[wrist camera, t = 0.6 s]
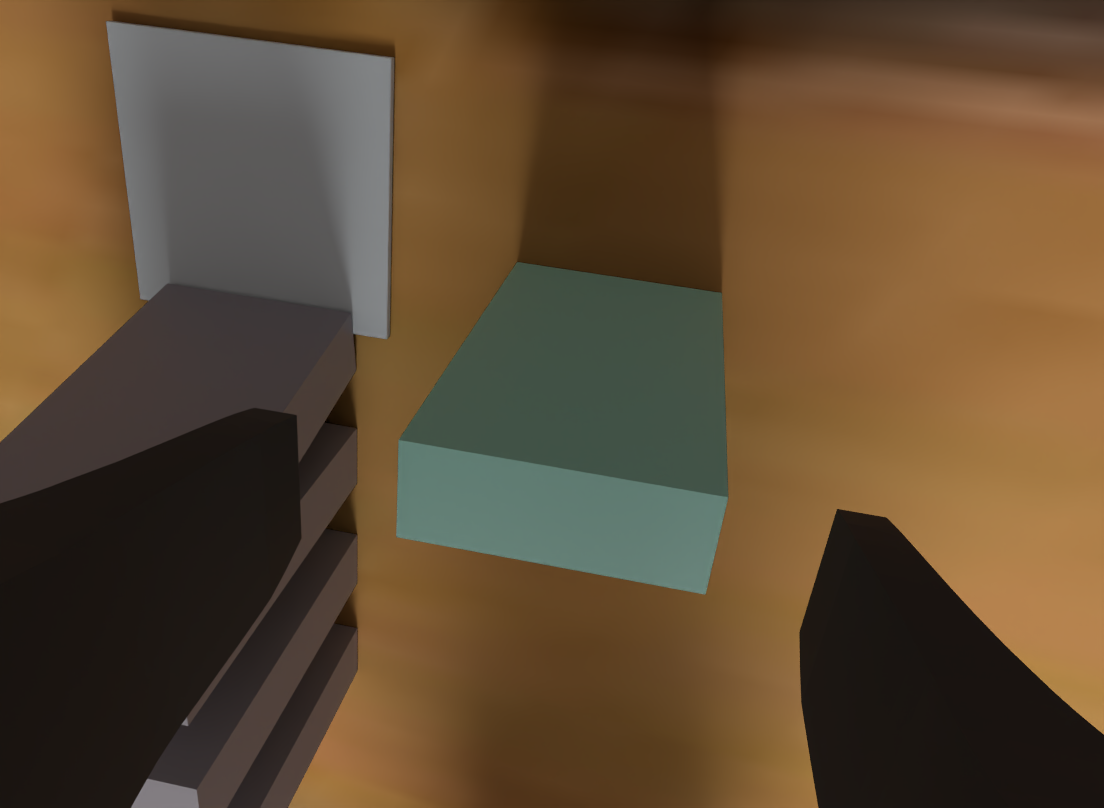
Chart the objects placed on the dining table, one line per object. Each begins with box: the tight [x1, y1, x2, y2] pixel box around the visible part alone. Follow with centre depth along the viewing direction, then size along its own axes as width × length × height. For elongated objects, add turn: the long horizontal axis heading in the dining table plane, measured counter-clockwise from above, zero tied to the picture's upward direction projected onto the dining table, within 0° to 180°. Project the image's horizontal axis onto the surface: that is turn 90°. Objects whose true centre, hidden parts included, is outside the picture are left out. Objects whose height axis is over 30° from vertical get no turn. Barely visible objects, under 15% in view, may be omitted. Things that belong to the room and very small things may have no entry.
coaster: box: [106, 21, 394, 339], centre depth 19 cm, size 6×6×1 cm
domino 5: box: [396, 262, 728, 595], centre depth 15 cm, size 2×4×8 cm, turn 84°
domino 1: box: [0, 283, 356, 503], centre depth 17 cm, size 2×4×8 cm, turn 84°
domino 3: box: [131, 529, 357, 808], centre depth 20 cm, size 2×4×8 cm, turn 84°
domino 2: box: [182, 423, 357, 726], centre depth 18 cm, size 2×4×8 cm, turn 84°
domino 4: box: [227, 624, 357, 808], centre depth 21 cm, size 2×4×8 cm, turn 84°
